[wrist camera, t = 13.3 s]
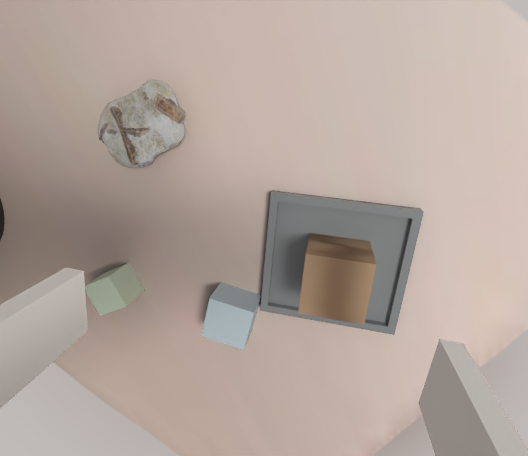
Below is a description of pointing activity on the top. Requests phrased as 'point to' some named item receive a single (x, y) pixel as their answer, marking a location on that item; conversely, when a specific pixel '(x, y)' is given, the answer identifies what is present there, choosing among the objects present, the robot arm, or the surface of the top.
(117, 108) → the stone
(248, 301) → the block bluegrey
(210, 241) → the top surface
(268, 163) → the top surface
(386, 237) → the tray
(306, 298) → the block walnut
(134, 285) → the block sage
